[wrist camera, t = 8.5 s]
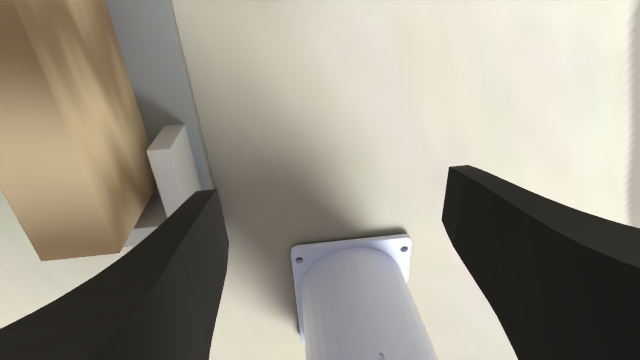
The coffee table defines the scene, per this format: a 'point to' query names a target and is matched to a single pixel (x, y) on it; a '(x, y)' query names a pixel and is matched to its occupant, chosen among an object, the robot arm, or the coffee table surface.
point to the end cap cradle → (161, 107)
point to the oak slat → (69, 129)
